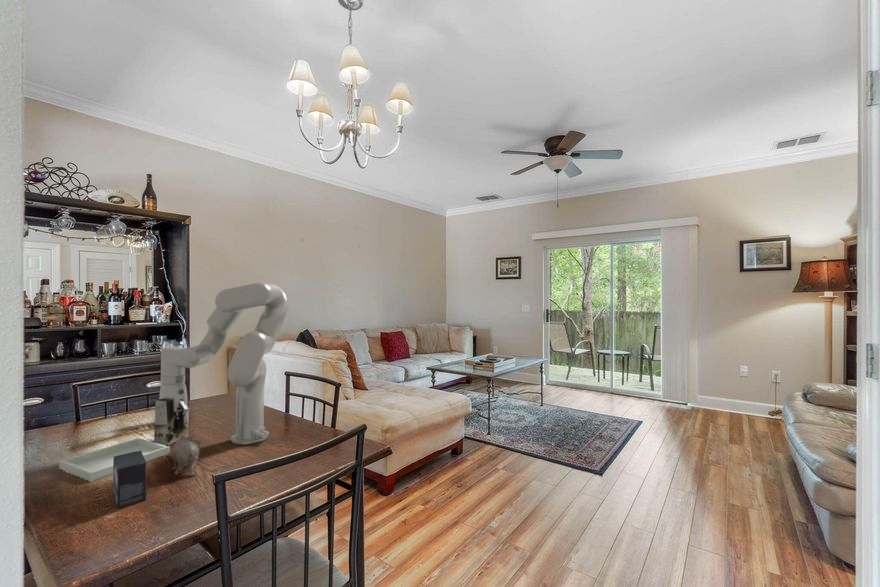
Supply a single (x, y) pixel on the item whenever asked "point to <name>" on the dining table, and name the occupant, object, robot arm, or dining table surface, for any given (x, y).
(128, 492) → the small box
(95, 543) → the dining table surface
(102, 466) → the tray
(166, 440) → the coffee box
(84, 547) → the dining table surface
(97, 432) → the dining table surface
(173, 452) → the rhinoceros figurine
